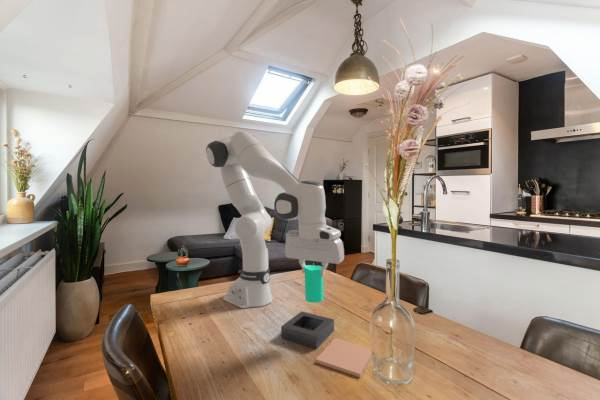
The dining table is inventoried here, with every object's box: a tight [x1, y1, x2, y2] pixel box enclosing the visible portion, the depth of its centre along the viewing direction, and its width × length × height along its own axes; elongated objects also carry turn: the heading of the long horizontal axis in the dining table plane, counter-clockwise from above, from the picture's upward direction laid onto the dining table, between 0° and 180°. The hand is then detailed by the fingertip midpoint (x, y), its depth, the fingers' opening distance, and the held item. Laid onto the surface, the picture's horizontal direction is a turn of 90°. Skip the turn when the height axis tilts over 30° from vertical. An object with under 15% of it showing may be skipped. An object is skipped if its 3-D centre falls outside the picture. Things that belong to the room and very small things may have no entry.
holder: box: [280, 311, 335, 350], centre depth 98 cm, size 13×13×4 cm
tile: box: [315, 338, 373, 378], centre depth 84 cm, size 13×13×1 cm
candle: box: [304, 262, 324, 304], centre depth 94 cm, size 6×6×12 cm
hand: (313, 273), depth 94 cm, fingers closed on candle, 5 cm apart
